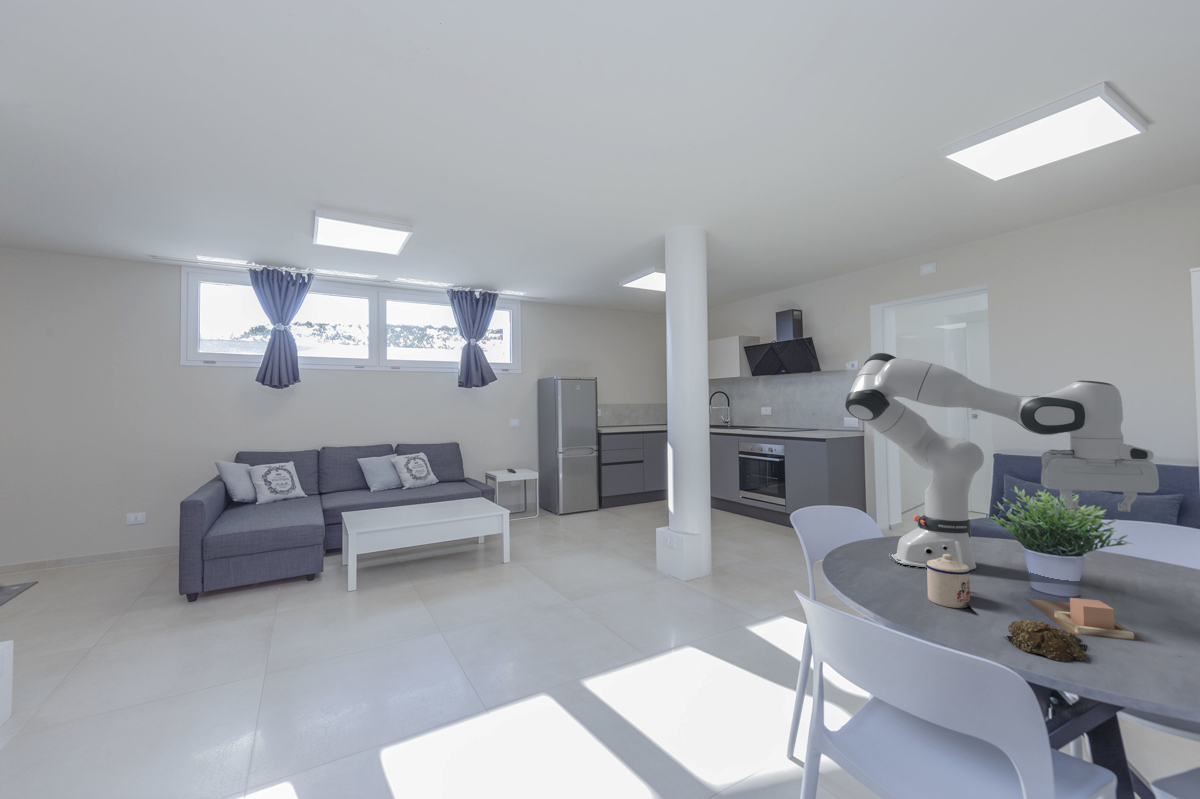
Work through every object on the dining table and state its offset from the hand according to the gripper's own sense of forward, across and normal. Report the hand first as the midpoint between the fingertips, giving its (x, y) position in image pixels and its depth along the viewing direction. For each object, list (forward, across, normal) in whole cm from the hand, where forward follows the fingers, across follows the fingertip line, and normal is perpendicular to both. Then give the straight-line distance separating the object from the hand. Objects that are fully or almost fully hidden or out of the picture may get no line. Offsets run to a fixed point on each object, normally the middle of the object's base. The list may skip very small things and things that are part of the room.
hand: (1097, 510), depth 116 cm
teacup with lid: (+24, -30, 0) cm, 38 cm away
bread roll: (+25, -20, -23) cm, 39 cm away
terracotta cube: (+23, -8, -13) cm, 27 cm away
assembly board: (+24, -8, -8) cm, 27 cm away
